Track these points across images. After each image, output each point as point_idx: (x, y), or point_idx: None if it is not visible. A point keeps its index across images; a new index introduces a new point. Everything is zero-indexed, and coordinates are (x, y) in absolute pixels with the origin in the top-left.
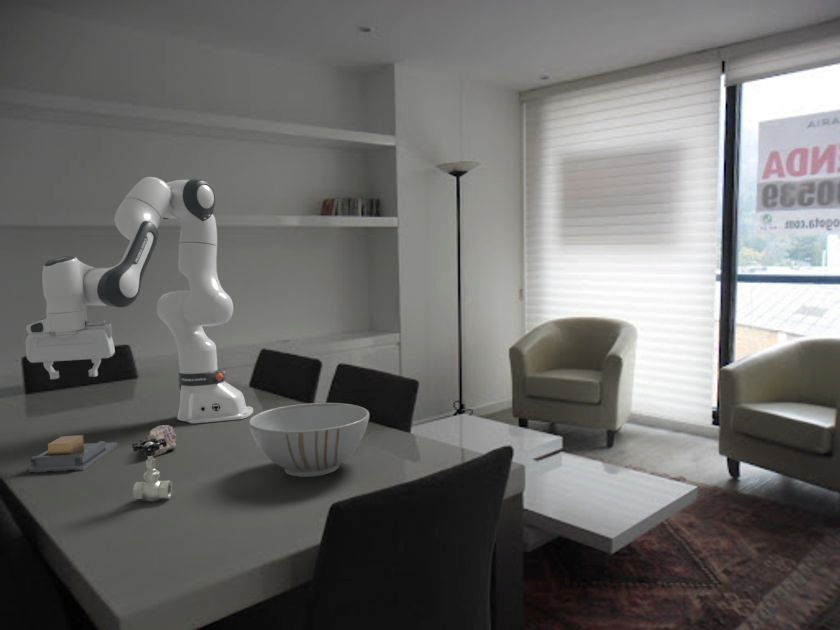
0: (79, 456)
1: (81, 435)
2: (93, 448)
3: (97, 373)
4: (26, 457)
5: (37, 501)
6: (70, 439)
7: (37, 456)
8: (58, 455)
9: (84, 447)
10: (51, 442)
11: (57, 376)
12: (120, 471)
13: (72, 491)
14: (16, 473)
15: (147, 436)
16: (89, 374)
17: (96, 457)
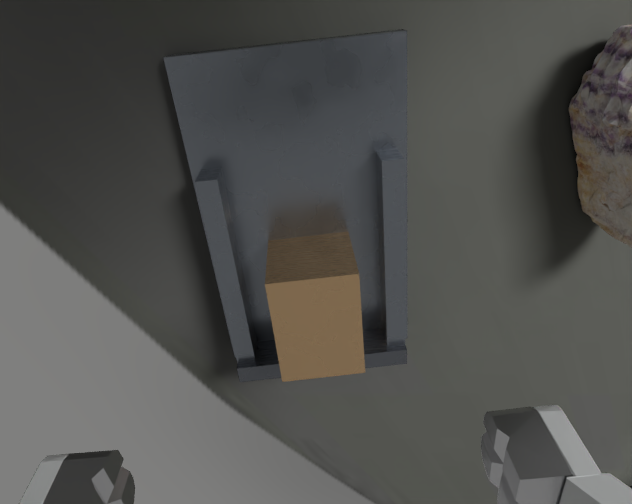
0: (405, 362)
1: (354, 276)
2: (403, 264)
3: (564, 421)
4: (71, 190)
5: (400, 496)
6: (338, 328)
7: (255, 370)
8: None
9: (282, 120)
10: (281, 363)
11: (112, 483)
12: (526, 340)
13: (451, 455)
14: (197, 351)
15: (605, 121)
16: (497, 482)
17: (406, 250)
